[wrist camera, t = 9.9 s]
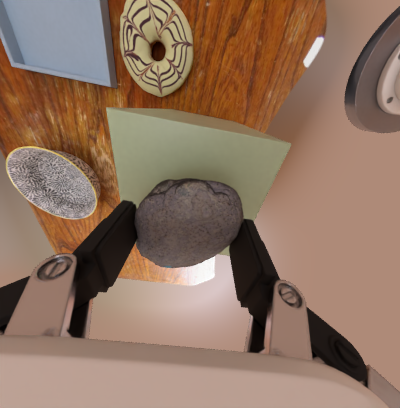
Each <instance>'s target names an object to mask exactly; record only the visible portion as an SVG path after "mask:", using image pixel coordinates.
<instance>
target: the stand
mask: <svg viewBox="0 0 400 408" xmlns="http://www.w3.org/2000/svg"><path fill="white" fill-rule="evenodd" d="M106 110H107V117H108V123H109V129H110V136H111V142H112V149H113V155H114V162H115V168H116V175H117V181H118V187H119V194H120V200H121V202H122V201H123V200H127V201H133V203H134V204H136V208H138V207H139V204H140V203H141V201H142V200H143V199H144V198H145V197H146V196H147V195H148V194H149V193H150V192H151V190H152V189H153V188H154V187H155V186H156V185H157V184H158V183H160V182H161V181H164V180H167V179H173V180H178V179H184V178H194V179H200V180H210V181H217V182H221V183H225V184H227V185H229V186H230V187H232V188H233V189H235V190H236V191H237V193H238V195H239V197H240V199H241V202H242V208H243V215H244V218H245V219H251V220H253V222H254V220H255V218H256V216H257V214H258V212H259V210H260V208H261V206H262V204H263V202H264V200H265V197H266V196H267V194H268V191H269V189H270V187H271V185H272V183H273V181H274V179H275V177H276V175H277V173H278V171H279V169H280V167H281V165H282V162H283V161H284V159H285V157H286V155H287V153H288V150H289V148H290V146H291V143H288V142H285V141H283V140H280V139H278V138H275V137H273V136H270V135H268V134H265V133H263V132H260V131H257V130H255V129H252V128H250V127H247V126H245V125H242V124H239V123H237V122H234V121H229V120H224V119H220V118H215V117H210V116H205V115H200V114H195V113H190V112H185V111H180V110H175V109H146V108H106ZM136 241H137V240H136ZM135 243H136V242H135ZM229 246H230V245H229ZM229 246H228V247H227V248H225V249H224V250H223V251H222V252H220V253H219V254H220V255H228V256H230V254H229Z"/></svg>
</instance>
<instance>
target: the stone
mask: <svg viewBox="0 0 400 408" xmlns="http://www.w3.org/2000/svg"><path fill="white" fill-rule="evenodd" d="M242 222H244V215H243V208H242V202H241V199H240V197H239V195H238V193H237V191H236V190H235V189H233V188H232V187H230V186H229V185H227V184H225V183H221V182H217V181H210V180H200V179H194V178H184V179H178V180H173V179H167V180H164V181H161V182H160V183H158V184H157V185H156V186H155V187H154V188H153V189H152V190H151V192H150V193H149V194H148V195H147V196H146V197H145V198H144V199H143V200H142V201H141V203H140V204H139V207H138V208H137V209H136V213H135V221H134V225H135V228H136V231H137V236H138V238H137V241H136V247H137V249H138V250H139V252H140V254H141V255H142V256H143V257H145V258H147V259H149V260H150V261H152V262H154V263H155V265H158V266H160V267H167V268H178V267H188V266H193V265H196V264H198V263H202V262H203V261H205V260H208V259H210V258H212V257H214V256H215V255H217V254H219V253H220V252H222V251H223V250H224V249H225V248H227V247H228V246H229V245H230V244H231V243H232V241H233V240H234V239H235V238H236V237H237V235H238V232H239V230H240V227H241V224H242Z"/></svg>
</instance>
